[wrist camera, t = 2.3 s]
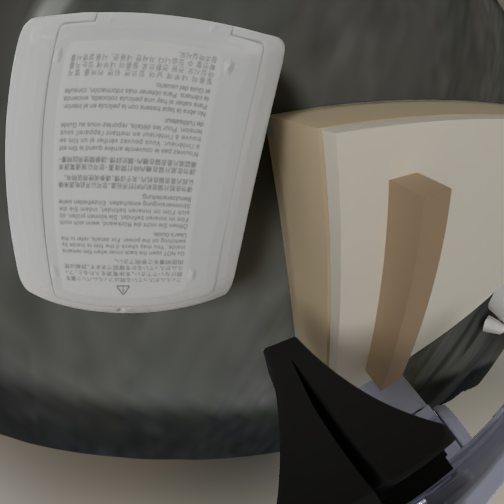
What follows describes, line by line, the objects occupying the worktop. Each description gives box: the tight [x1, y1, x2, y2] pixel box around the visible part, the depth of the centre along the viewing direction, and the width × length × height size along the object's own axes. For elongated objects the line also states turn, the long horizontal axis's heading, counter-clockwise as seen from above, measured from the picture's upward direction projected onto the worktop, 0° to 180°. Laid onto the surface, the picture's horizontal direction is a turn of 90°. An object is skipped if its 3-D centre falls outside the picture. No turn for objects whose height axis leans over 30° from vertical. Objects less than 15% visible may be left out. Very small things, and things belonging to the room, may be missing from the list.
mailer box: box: [267, 100, 504, 367], centre depth 18 cm, size 16×26×5 cm, turn 101°
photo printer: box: [5, 12, 285, 313], centre depth 10 cm, size 10×4×12 cm
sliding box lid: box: [322, 115, 504, 391], centre depth 14 cm, size 16×26×3 cm, turn 101°
